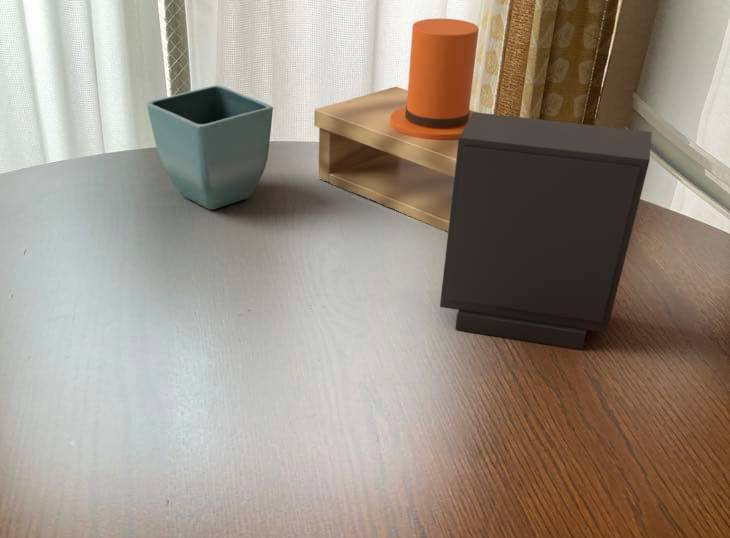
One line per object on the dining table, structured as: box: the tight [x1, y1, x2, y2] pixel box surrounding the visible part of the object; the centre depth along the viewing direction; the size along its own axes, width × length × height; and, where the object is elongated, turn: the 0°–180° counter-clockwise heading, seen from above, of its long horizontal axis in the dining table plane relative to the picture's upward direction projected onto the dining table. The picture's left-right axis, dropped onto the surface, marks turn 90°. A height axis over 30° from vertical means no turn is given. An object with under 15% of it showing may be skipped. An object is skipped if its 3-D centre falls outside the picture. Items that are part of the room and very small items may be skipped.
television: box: [439, 111, 653, 351], centre depth 70 cm, size 7×13×14 cm, turn 74°
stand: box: [313, 86, 479, 233], centre depth 92 cm, size 22×12×7 cm, turn 44°
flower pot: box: [146, 84, 274, 211], centre depth 89 cm, size 9×9×9 cm
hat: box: [390, 18, 480, 140], centre depth 87 cm, size 9×9×8 cm
